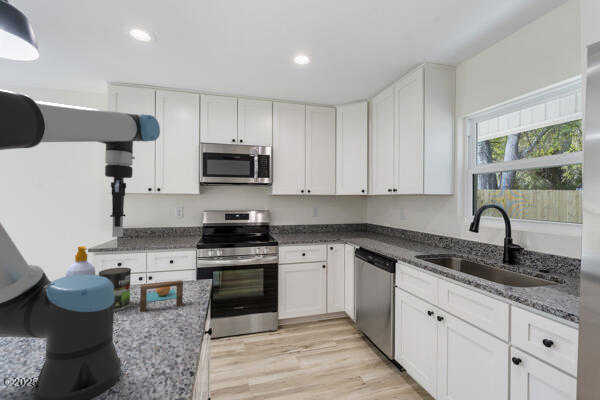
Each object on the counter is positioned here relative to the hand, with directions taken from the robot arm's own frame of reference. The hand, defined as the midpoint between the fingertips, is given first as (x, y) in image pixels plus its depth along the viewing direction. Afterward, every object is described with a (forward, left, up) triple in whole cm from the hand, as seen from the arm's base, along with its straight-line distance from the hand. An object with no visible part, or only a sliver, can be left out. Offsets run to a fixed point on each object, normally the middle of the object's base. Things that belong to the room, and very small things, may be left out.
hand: (117, 236), depth 88 cm
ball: (+28, -1, -27) cm, 39 cm away
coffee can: (+15, +11, -30) cm, 35 cm away
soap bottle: (+11, +21, -30) cm, 38 cm away
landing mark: (+28, 0, -29) cm, 41 cm away
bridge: (+16, -7, -29) cm, 34 cm away
